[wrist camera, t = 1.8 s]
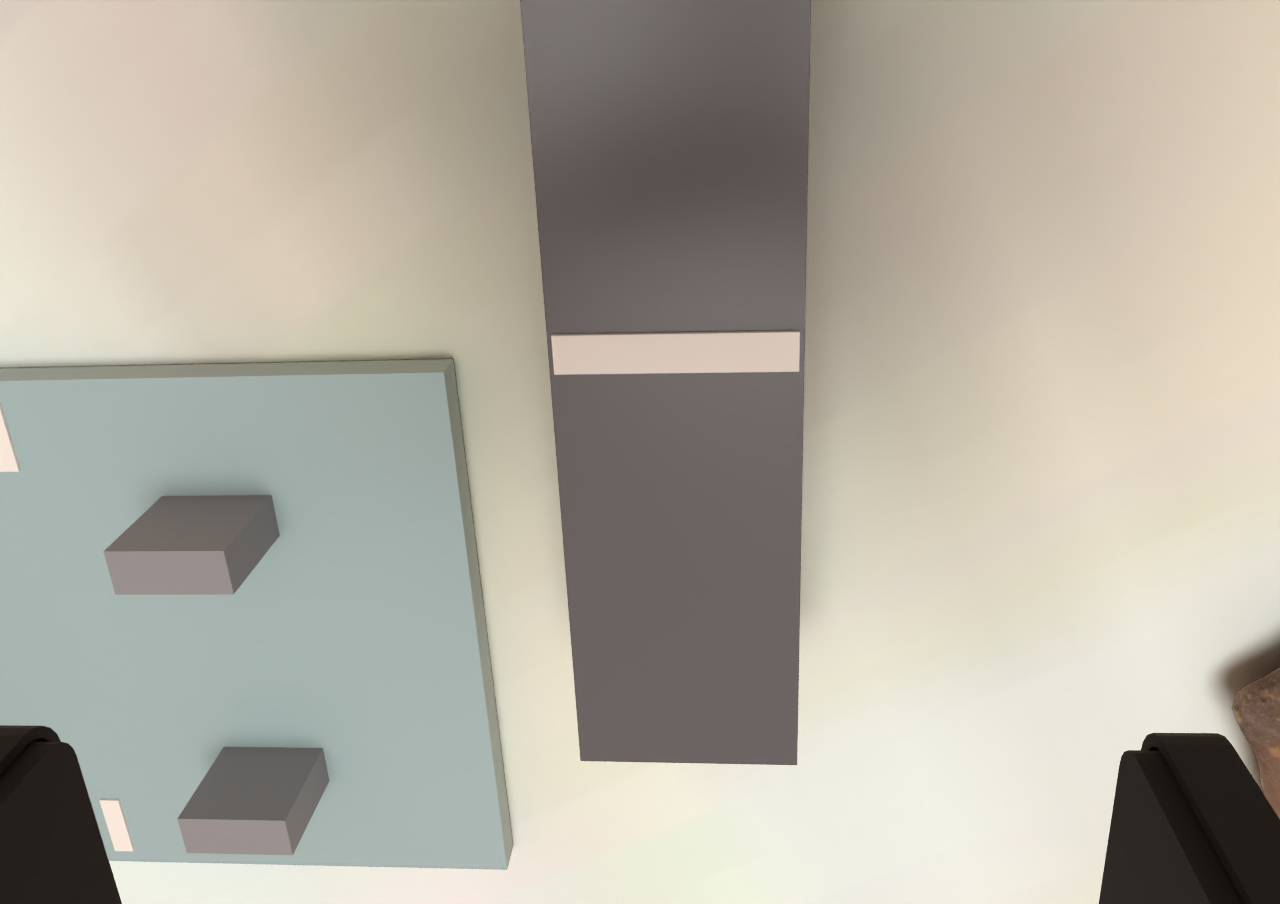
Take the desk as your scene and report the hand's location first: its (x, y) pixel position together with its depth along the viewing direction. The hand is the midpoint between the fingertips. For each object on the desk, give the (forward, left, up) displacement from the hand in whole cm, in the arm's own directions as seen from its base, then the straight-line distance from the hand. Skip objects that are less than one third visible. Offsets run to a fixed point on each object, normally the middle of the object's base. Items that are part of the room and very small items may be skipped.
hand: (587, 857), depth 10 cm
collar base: (+10, -18, -19) cm, 28 cm away
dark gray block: (0, 0, -19) cm, 19 cm away
